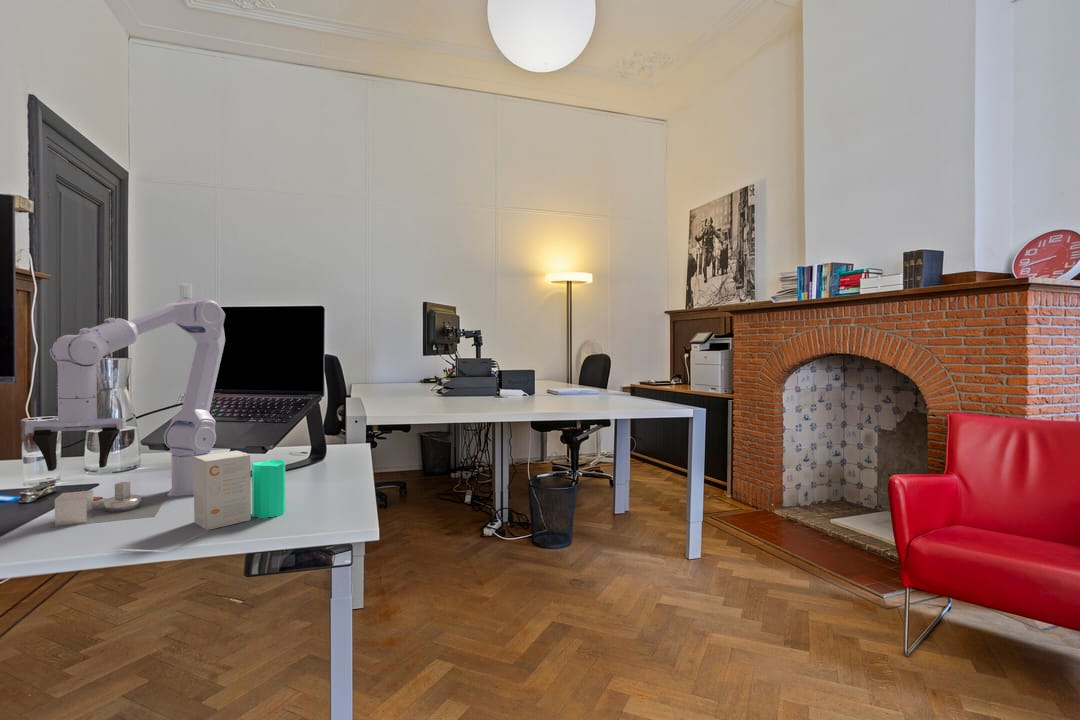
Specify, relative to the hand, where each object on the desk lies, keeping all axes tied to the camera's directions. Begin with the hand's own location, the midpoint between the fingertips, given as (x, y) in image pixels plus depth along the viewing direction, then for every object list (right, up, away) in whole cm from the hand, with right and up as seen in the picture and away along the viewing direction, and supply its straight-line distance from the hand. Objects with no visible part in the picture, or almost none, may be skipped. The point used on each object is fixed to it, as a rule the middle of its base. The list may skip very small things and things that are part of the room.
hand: (77, 468), depth 105 cm
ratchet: (0, -10, +7) cm, 12 cm away
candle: (+34, -11, +6) cm, 36 cm away
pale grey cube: (0, -10, -1) cm, 10 cm away
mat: (+2, -10, +6) cm, 12 cm away
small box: (+27, -11, +1) cm, 29 cm away
